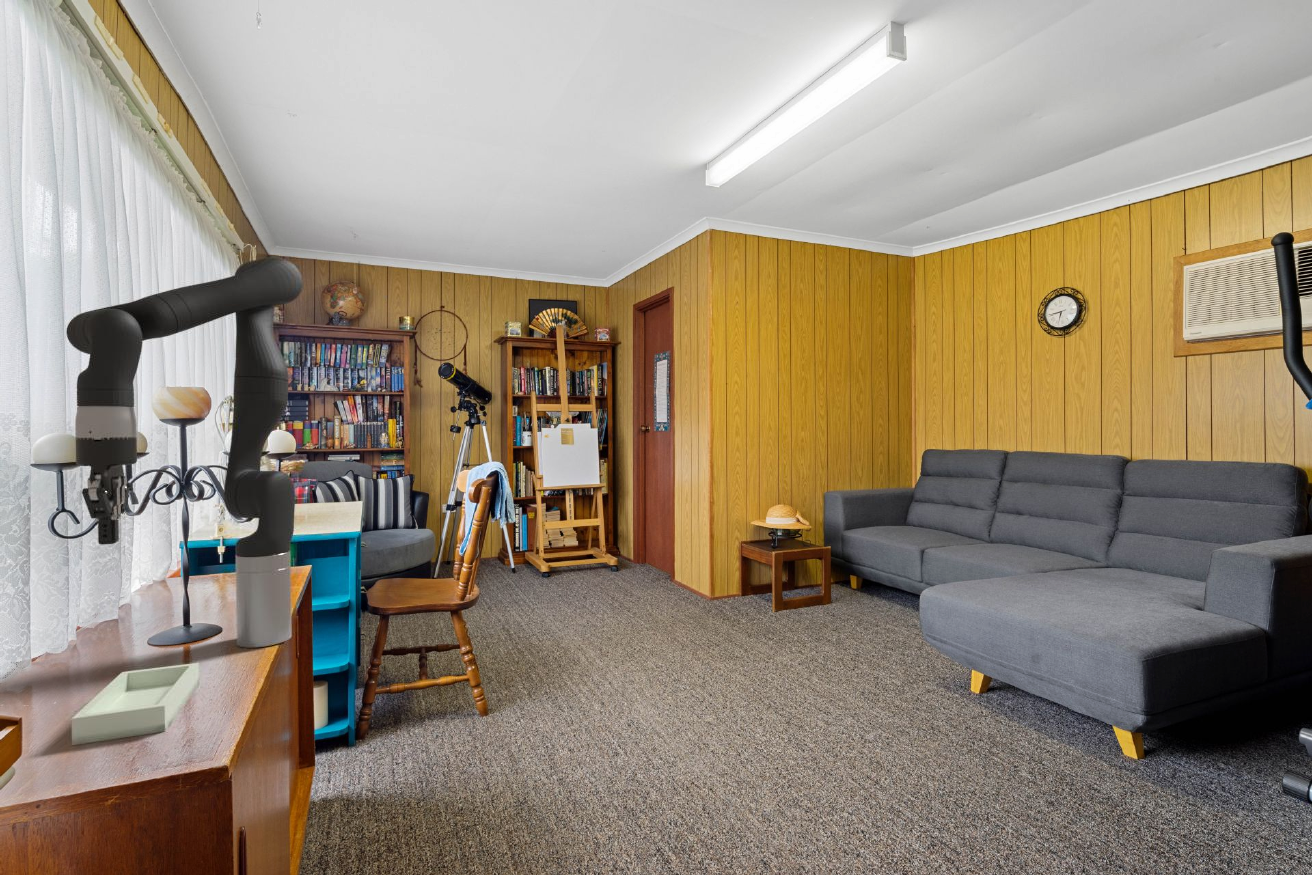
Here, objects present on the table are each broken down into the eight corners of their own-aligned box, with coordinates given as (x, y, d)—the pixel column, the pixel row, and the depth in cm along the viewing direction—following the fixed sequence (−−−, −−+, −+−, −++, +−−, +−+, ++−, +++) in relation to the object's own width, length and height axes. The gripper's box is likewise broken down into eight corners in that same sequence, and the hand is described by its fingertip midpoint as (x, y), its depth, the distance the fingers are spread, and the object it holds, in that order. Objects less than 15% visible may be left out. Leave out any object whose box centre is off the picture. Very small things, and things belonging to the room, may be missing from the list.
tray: (122, 694, 102) (122, 671, 102) (199, 684, 106) (198, 662, 106) (71, 745, 85) (71, 718, 85) (165, 731, 89) (164, 705, 89)
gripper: (93, 435, 110) (95, 539, 110) (58, 436, 97) (60, 552, 98) (148, 435, 112) (150, 535, 113) (120, 435, 100) (122, 548, 101)
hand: (108, 543), depth 105 cm, fingers closed
